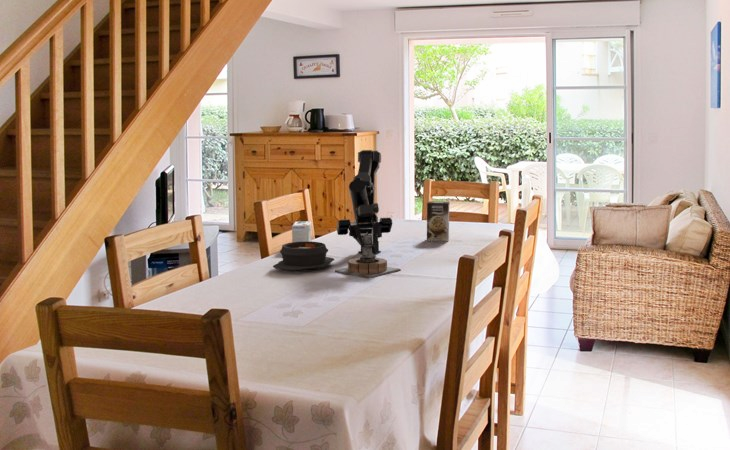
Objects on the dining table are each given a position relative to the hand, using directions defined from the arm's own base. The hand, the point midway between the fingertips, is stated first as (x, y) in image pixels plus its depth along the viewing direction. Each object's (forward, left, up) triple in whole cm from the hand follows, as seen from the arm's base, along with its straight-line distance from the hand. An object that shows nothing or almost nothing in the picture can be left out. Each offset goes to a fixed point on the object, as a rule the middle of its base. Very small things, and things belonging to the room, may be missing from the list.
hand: (368, 246), depth 277 cm
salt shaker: (-1, +1, -7) cm, 8 cm away
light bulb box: (-49, +15, -9) cm, 52 cm away
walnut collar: (-1, +1, -9) cm, 9 cm away
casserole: (-22, -9, -9) cm, 26 cm away
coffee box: (-21, +66, -9) cm, 70 cm away
